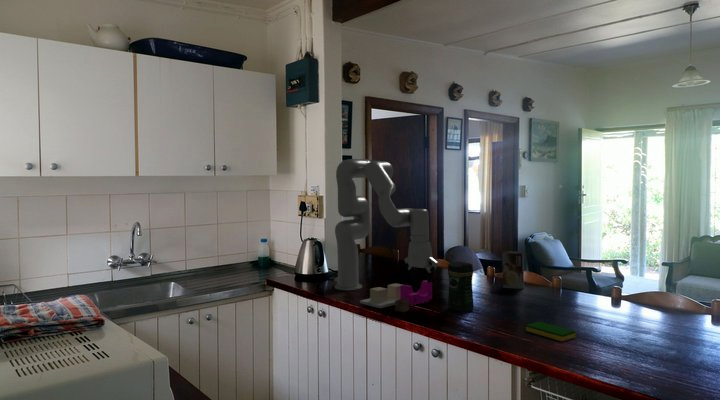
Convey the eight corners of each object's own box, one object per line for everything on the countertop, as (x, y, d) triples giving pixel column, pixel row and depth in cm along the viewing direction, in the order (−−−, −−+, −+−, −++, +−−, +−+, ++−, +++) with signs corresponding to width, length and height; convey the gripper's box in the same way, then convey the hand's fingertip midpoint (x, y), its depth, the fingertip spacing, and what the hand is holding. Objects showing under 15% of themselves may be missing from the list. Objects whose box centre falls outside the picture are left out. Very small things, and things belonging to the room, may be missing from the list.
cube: (395, 311, 200) (394, 300, 199) (400, 308, 203) (399, 298, 203) (404, 312, 197) (404, 302, 197) (409, 310, 201) (409, 299, 200)
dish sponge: (562, 342, 161) (562, 335, 160) (525, 332, 172) (525, 324, 172) (575, 338, 165) (576, 330, 164) (539, 328, 176) (539, 321, 176)
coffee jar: (477, 310, 198) (477, 262, 197) (462, 313, 194) (461, 264, 193) (459, 305, 206) (459, 259, 205) (444, 308, 202) (444, 261, 201)
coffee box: (524, 286, 238) (524, 251, 238) (523, 289, 232) (523, 253, 232) (503, 285, 242) (503, 250, 241) (502, 287, 236) (502, 252, 235)
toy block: (411, 306, 206) (411, 288, 206) (400, 303, 211) (400, 285, 211) (436, 300, 216) (436, 282, 216) (425, 297, 221) (425, 280, 220)
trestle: (360, 303, 212) (359, 288, 212) (394, 294, 226) (394, 281, 225) (380, 308, 203) (380, 293, 203) (414, 299, 217) (414, 285, 216)
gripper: (398, 238, 216) (399, 279, 216) (430, 241, 203) (431, 284, 203) (410, 237, 221) (412, 277, 221) (442, 239, 208) (443, 282, 208)
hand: (421, 280), depth 212 cm, fingers open, 9 cm apart
